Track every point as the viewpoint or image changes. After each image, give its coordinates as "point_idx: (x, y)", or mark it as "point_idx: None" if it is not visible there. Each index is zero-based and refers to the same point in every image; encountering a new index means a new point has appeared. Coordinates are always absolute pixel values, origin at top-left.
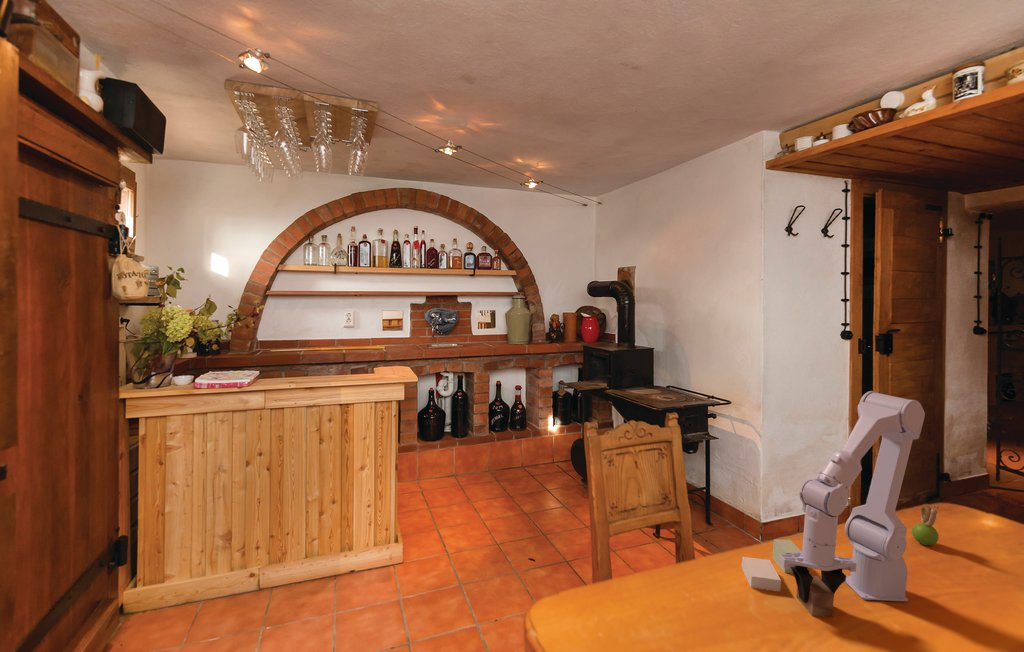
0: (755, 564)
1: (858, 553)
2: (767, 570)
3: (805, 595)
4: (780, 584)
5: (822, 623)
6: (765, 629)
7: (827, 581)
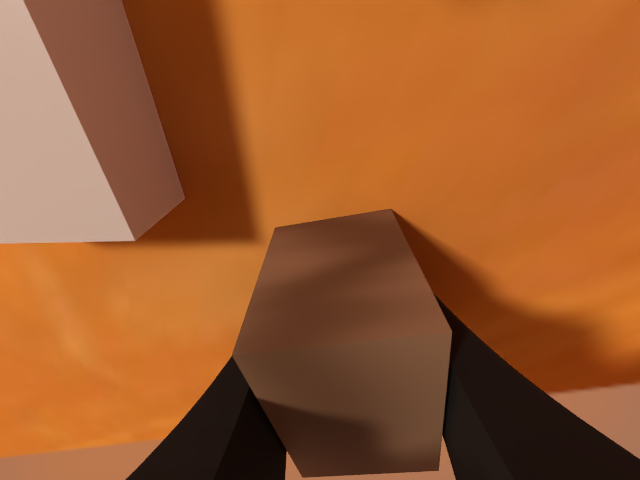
0: None
1: None
2: None
3: None
4: (156, 220)
5: None
6: (141, 410)
7: (468, 478)
